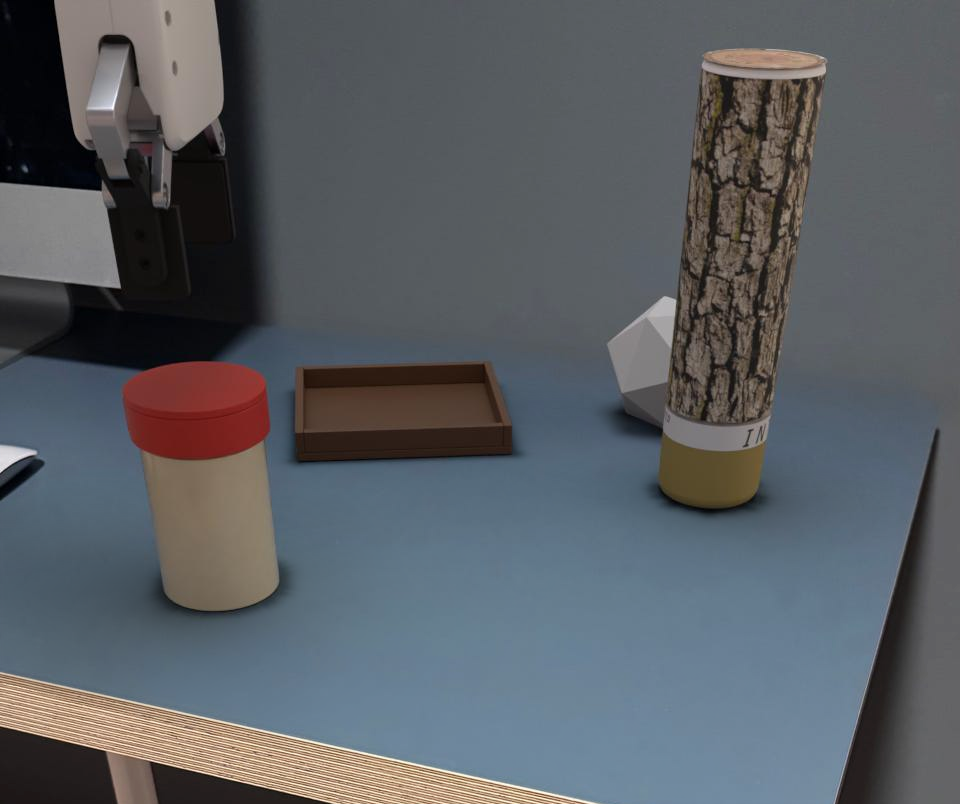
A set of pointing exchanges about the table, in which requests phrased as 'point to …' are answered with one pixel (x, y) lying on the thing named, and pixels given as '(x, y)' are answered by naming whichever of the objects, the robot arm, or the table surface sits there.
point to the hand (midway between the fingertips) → (183, 268)
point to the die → (645, 361)
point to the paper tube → (737, 268)
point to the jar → (213, 528)
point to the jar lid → (196, 409)
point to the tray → (399, 411)
